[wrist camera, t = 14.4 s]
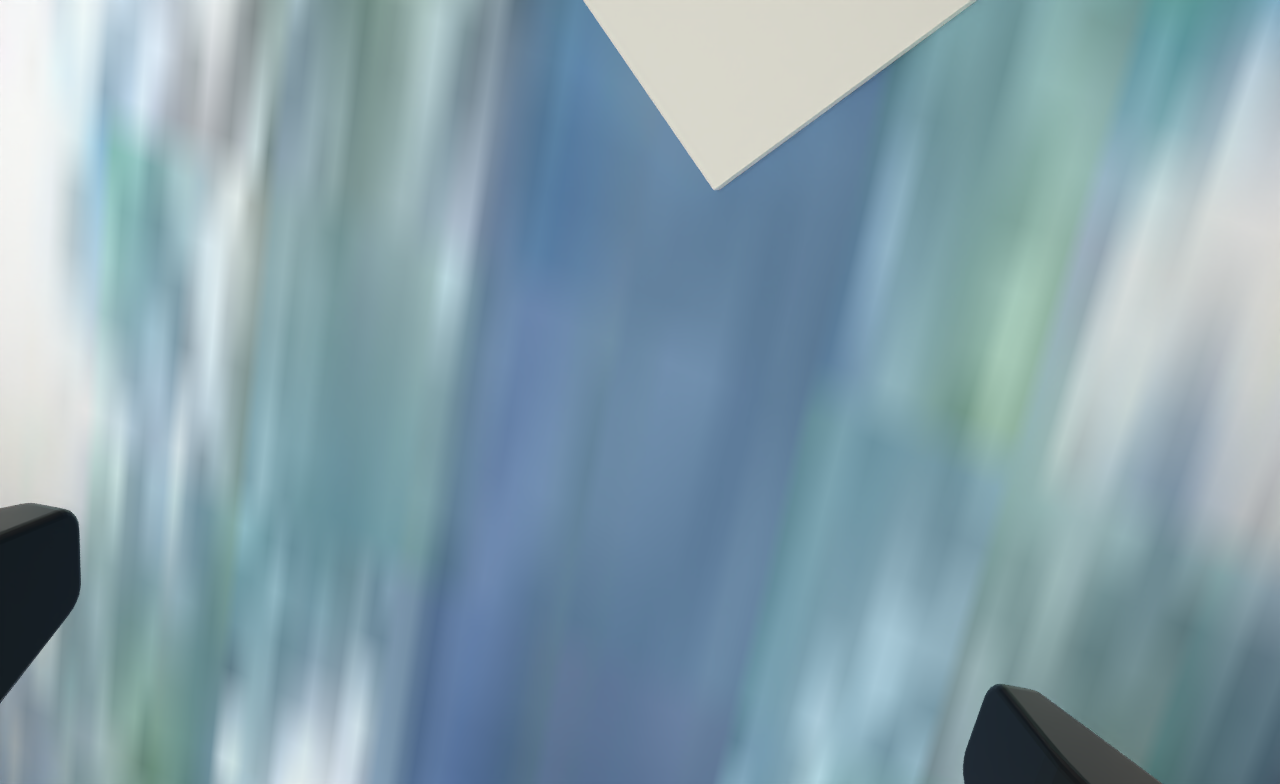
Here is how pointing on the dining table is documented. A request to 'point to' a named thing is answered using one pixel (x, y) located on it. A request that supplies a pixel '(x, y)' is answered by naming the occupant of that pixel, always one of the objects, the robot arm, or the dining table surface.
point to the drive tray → (758, 64)
